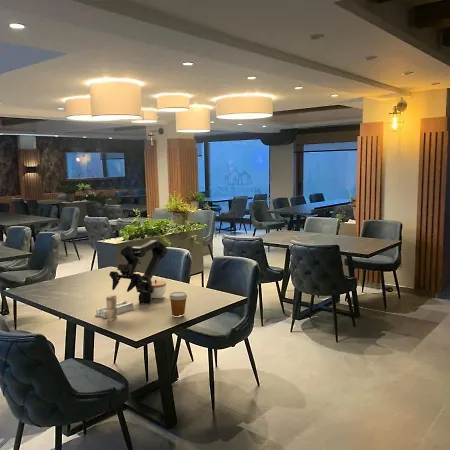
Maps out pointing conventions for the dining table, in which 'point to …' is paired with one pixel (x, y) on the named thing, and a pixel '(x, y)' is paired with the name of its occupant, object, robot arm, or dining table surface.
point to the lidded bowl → (158, 289)
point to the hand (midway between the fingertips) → (120, 290)
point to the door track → (120, 309)
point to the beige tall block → (111, 307)
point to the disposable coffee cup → (178, 303)
